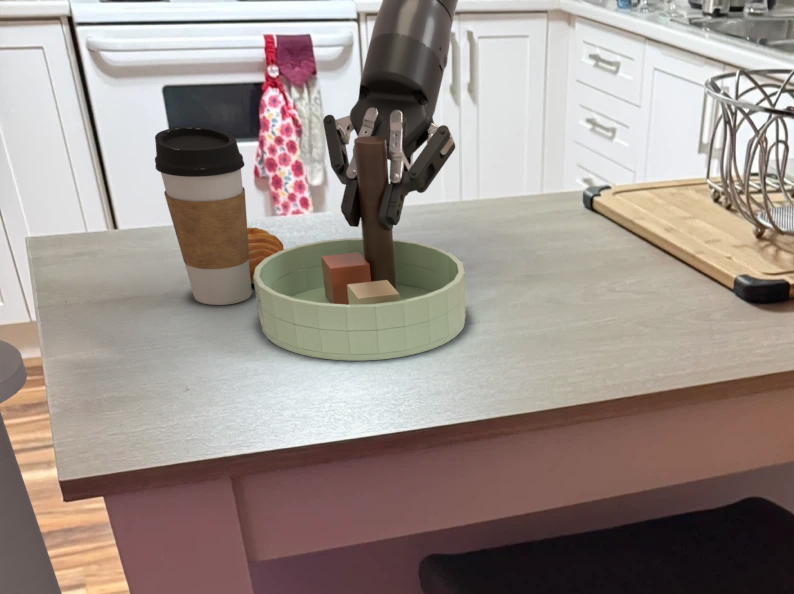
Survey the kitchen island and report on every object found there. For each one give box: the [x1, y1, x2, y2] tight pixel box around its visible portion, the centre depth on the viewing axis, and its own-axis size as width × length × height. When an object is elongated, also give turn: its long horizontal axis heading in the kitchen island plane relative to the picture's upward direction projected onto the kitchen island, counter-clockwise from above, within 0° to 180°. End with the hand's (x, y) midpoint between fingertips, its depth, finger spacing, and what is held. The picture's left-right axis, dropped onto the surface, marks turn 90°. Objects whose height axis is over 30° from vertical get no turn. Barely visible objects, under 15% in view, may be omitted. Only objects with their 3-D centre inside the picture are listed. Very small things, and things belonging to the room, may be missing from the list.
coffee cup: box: [154, 126, 253, 306], centre depth 104 cm, size 8×8×15 cm
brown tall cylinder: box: [353, 136, 396, 289], centre depth 103 cm, size 3×3×14 cm
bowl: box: [253, 237, 467, 362], centre depth 103 cm, size 20×20×5 cm
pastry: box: [247, 227, 284, 285], centre depth 113 cm, size 9×7×4 cm
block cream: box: [347, 280, 400, 305], centre depth 100 cm, size 4×4×4 cm
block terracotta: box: [321, 252, 371, 305], centre depth 106 cm, size 4×4×4 cm
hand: (368, 223), depth 102 cm, fingers closed on brown tall cylinder, 3 cm apart
